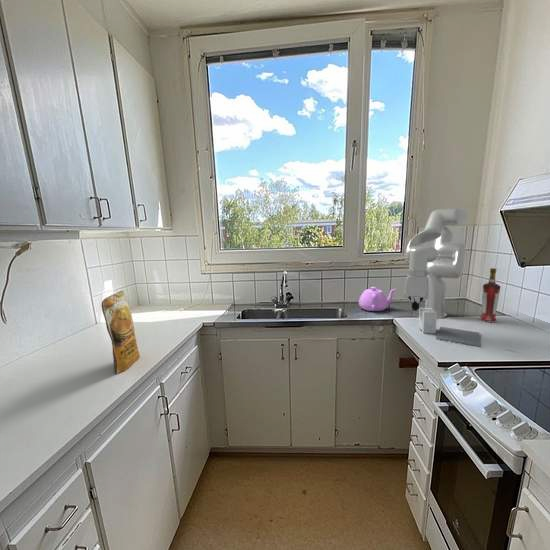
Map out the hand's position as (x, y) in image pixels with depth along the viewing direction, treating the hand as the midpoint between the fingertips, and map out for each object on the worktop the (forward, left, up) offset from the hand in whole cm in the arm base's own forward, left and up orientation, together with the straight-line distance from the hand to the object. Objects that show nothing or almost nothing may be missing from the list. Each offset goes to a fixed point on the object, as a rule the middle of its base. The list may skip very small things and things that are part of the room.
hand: (415, 310), depth 141 cm
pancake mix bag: (+99, -87, -10) cm, 132 cm away
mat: (+1, +19, -10) cm, 21 cm away
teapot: (-26, -25, -10) cm, 38 cm away
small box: (0, +6, -10) cm, 11 cm away
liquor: (-33, +31, -10) cm, 46 cm away
